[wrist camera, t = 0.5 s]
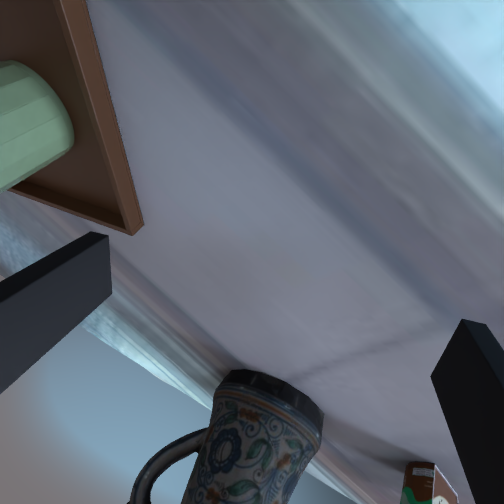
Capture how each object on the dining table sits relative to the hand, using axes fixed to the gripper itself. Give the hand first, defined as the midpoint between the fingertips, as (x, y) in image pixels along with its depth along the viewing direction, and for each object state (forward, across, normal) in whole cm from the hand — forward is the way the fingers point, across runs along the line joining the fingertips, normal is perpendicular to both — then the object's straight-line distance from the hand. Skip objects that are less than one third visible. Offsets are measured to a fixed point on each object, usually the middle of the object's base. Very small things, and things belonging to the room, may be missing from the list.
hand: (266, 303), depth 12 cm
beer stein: (+25, +1, -34) cm, 43 cm away
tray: (+15, -22, +3) cm, 27 cm away
